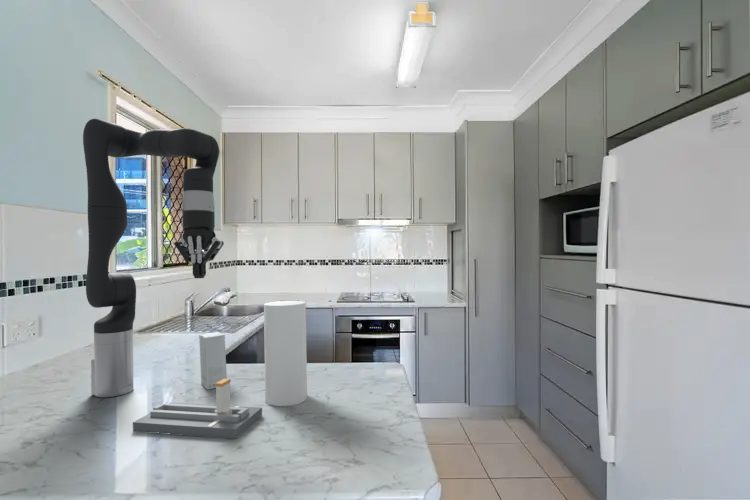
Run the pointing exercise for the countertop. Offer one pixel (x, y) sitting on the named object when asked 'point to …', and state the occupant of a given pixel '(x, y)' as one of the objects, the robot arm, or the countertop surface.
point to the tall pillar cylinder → (285, 352)
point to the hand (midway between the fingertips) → (199, 278)
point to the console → (198, 420)
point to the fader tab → (223, 397)
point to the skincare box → (212, 359)
